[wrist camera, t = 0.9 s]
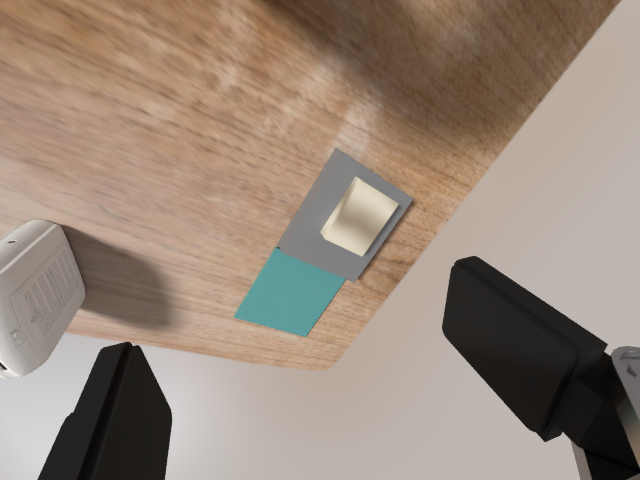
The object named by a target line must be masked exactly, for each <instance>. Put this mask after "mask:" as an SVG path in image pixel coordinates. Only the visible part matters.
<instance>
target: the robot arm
mask: <svg viewBox="0 0 640 480" xmlns="http://www.w3.org/2000/svg"><path fill="white" fill-rule="evenodd" d="M442 330H443V333H444V335H445V337H446V338H447V339H448V340H449V342H450V343H451V344H452V345H453V346H454V347H455V348H456V349H457V350H458V352H459V353H460V354H461V355H462V356H463V357H464V358H465V359H466V361H467V362H468V363H469V364H470V365H471V366H472V367H473V368H474V369H475V370H476V371H477V373H478V374H479V375H480V376H481V377H482V378H483V379H484V380H485V381H486V383H487V384H488V385H489V386H490V387H491V388H492V389H493V391H494V392H495V393H496V394H497V395H498V396H499V397H500V398H501V399H502V400H503V402H504V403H505V404H506V405H507V406H508V407H509V408H510V409H511V411H512V412H513V413H514V414H515V415H516V416H517V417H518V418H519V419H520V420H521V422H522V423H523V424H524V425H525V426H526V427H527V428H528V429H529V430H531V431H533V432H536V433H537V434H538V435H539V436H540V437H541V438H542V439H543V441H544V442H547V441H549V440H551V439H553V438H556V437H558V436H560V435H561V434H562V432H564V433H565V434H566V435H567V436H568V437H569V438H570V440H571V443H572V448H573V451H574V455H575V459H576V463H577V467H578V471H579V475H580V479H581V480H640V348H639V347H631V346H625V347H619V348H617V349H615V350H613V352H612V354H611V356H609V355H608V354H606V353H605V352H604V350H605V349H606V347H607V345H608V344H607V343H605V342H604V341H602V340H601V339H599V338H598V337H596V336H595V335H593V334H592V333H590V332H589V331H587V330H586V329H584V328H583V327H581V326H580V325H578V324H577V323H575V322H574V321H572V320H571V319H569V318H568V317H566V316H565V315H563V314H562V313H560V312H559V311H557V310H556V309H555V308H553V307H551V306H550V305H549V304H547V303H546V302H544V301H542V300H541V299H540V298H538V297H537V296H535V295H534V294H532V293H531V292H529V291H528V290H526V289H525V288H523V287H522V286H520V285H519V284H517V283H516V282H514V281H513V280H511V279H510V278H508V277H507V276H505V275H504V274H502V273H501V272H499V271H498V270H496V269H495V268H493V267H492V266H490V265H489V264H487V263H486V262H484V261H483V260H481V259H480V258H478V257H476V256H472V257H467V258H463V259H459V260H457V261H456V262H455V264H454V266H453V267H452V268H451V273H450V280H449V286H448V292H447V299H446V305H445V312H444V318H443V324H442ZM171 427H172V413H171V409H170V407H169V405H168V403H167V401H166V398H165V396H164V394H163V392H162V390H161V388H160V386H159V384H158V382H157V380H156V378H155V376H154V374H153V372H152V370H151V368H150V366H149V364H148V362H147V360H146V358H145V356H144V353H143V351H142V349H141V348H140V346H138V345H136V346H132V344H131V343H130V342H124V343H120V344H116V345H112V346H108V347H104V348H103V349H101V350H100V352H99V354H98V356H97V359H96V361H95V363H94V366H93V368H92V370H91V373H90V375H89V377H88V380H87V382H86V384H85V387H84V389H83V391H82V393H81V396H80V398H79V400H78V403H77V405H76V407H75V410H74V412H73V413H71V414H70V415H69V416H68V417H67V418H66V419H65V421H64V423H63V424H62V426H61V428H60V431H59V433H58V435H57V437H56V440H55V442H54V444H53V446H52V449H51V451H50V453H49V455H48V457H47V460H46V462H45V464H44V467H43V469H42V471H41V473H40V475H39V478H38V480H165V474H166V466H167V457H168V450H169V441H170V434H171Z"/></svg>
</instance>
